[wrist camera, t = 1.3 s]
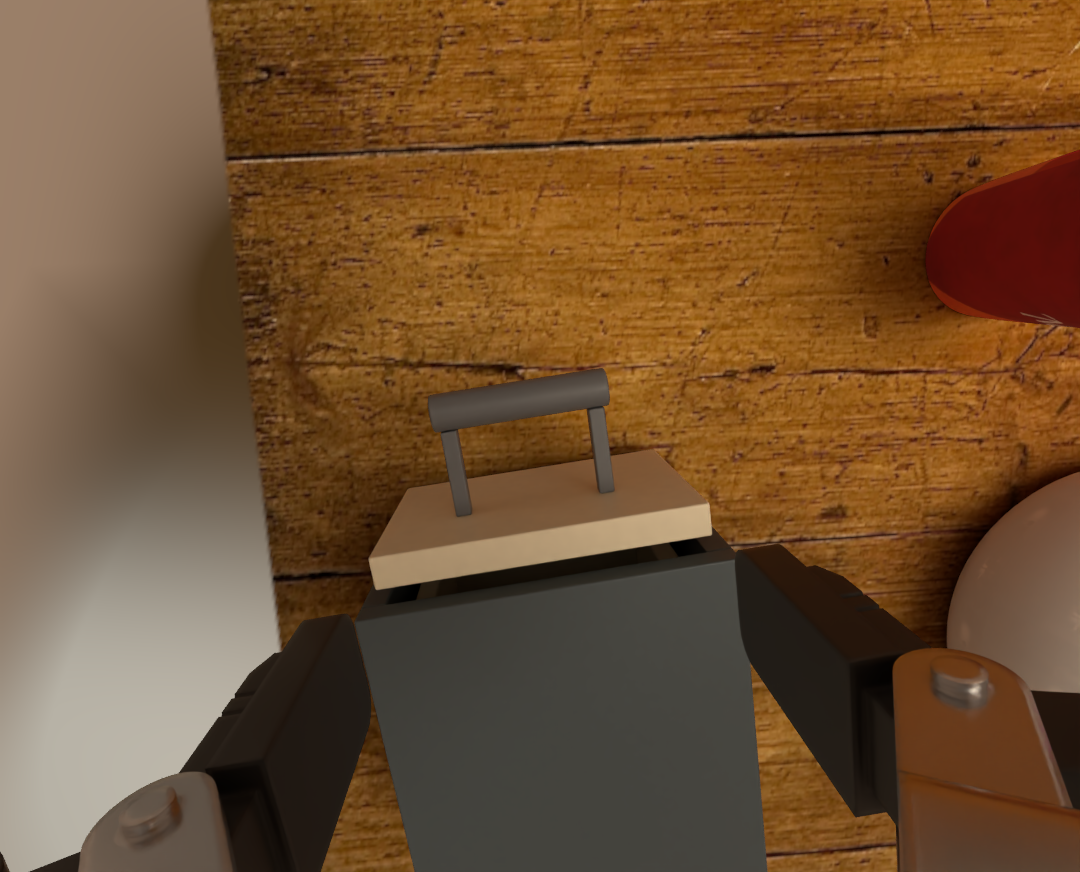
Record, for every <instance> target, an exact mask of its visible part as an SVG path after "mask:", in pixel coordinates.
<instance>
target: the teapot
mask: <svg viewBox="0 0 1080 872" xmlns="http://www.w3.org/2000/svg"><path fill="white" fill-rule="evenodd" d="M947 649H955V650H961V651H966V652H970V653H974V654H977V655H980V656H983V657H986V658H989V659H991V660H993V661H996V662H998V663H1000V664H1002V665H1004V666H1005V667H1007V668H1009V669H1010V670H1012V671H1013V672H1015V673H1016V674H1017V675H1018V676H1019V677H1021V678H1022V679H1023V680H1024V681H1025V683H1026V684H1027V685H1028V687H1029V689H1030V690H1035V691H1049V692H1069V693H1080V472H1077V473H1074V474H1071V475H1069V476H1066V477H1064V478H1061V479H1059V480H1056V481H1054V482H1052V483H1050V484H1048V485H1046V486H1045V487H1043V488H1041V489H1039V490H1038V491H1036V492H1034V493H1032V494H1031V495H1029V496H1028V497H1027V498H1025V499H1024V500H1023V501H1021V502H1020V503H1018V504H1017V505H1016V506H1014V507H1013V508H1012V509H1011V510H1010V511H1008V512H1007V513H1006V514H1005V515H1004V516H1003V517H1002V518H1001V519H1000V520H999V521H998V522H997V523H996V524H995V525H994V526H993V527H992V528H991V529H990V530H989V531H988V532H987V533H986V535H985V536H984V537H983V538H982V539H981V541H980V542H979V543H978V545H977V546H976V548H975V549H974V551H973V552H972V554H971V555H970V557H969V559H968V560H967V562H966V564H965V566H964V568H963V570H962V572H961V574H960V576H959V579H958V581H957V584H956V586H955V589H954V592H953V596H952V599H951V604H950V608H949V614H948V621H947Z"/></svg>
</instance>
